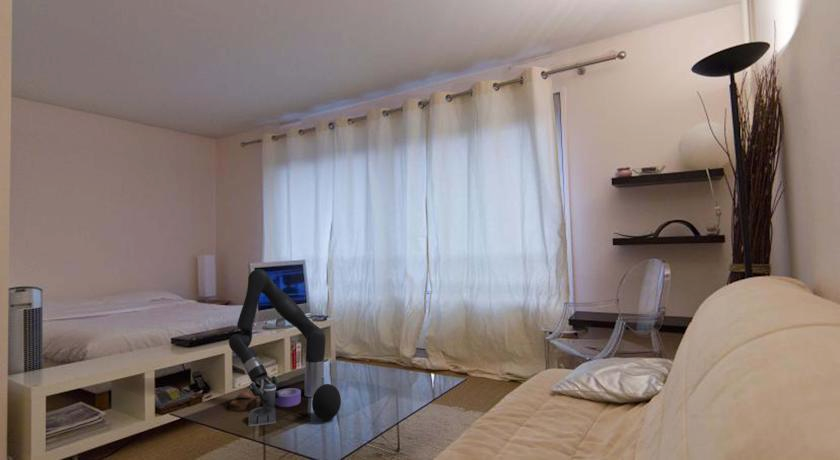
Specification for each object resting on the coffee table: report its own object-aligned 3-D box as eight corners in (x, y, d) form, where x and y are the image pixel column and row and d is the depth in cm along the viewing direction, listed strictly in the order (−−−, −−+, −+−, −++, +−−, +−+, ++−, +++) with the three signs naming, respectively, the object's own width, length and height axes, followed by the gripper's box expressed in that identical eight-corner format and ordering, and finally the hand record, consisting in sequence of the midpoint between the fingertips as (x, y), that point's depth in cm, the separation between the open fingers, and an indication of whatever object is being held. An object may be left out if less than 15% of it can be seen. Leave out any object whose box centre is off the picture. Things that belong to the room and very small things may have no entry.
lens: (274, 406, 191) (275, 382, 192) (275, 411, 186) (276, 386, 187) (262, 408, 189) (263, 383, 190) (262, 412, 184) (263, 387, 185)
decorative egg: (325, 427, 170) (327, 391, 171) (305, 420, 177) (306, 385, 178) (346, 418, 181) (347, 383, 182) (325, 411, 187) (327, 378, 188)
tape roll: (277, 408, 190) (277, 397, 190) (273, 400, 200) (273, 389, 201) (302, 404, 195) (303, 394, 196) (298, 396, 206) (298, 386, 206)
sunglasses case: (246, 409, 187) (239, 396, 188) (232, 417, 187) (225, 404, 187) (261, 395, 205) (254, 383, 206) (248, 402, 205) (242, 390, 205)
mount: (274, 413, 184) (275, 405, 184) (276, 423, 174) (276, 414, 174) (248, 416, 180) (249, 408, 180) (248, 426, 170) (249, 417, 170)
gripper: (246, 368, 186) (263, 399, 180) (271, 361, 199) (288, 390, 193) (238, 378, 188) (254, 409, 182) (263, 370, 201) (279, 399, 195)
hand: (271, 399), depth 187 cm, fingers open, 6 cm apart
